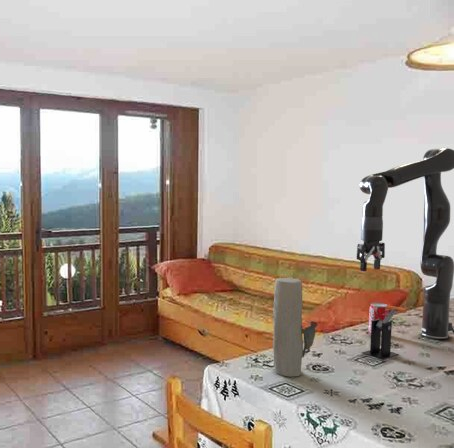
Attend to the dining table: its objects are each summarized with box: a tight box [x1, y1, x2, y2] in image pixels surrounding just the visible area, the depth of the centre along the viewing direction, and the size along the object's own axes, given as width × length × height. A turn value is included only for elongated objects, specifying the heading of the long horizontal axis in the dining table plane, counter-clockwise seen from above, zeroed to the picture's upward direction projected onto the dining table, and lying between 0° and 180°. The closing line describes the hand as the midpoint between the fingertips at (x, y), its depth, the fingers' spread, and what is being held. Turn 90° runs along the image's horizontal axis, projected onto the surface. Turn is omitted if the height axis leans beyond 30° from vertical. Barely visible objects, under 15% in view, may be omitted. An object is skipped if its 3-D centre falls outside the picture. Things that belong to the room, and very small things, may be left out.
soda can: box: [367, 302, 390, 335], centre depth 200 cm, size 7×7×13 cm
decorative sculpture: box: [272, 277, 318, 378], centre depth 158 cm, size 14×10×30 cm
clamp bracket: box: [361, 319, 400, 361], centre depth 175 cm, size 10×8×13 cm
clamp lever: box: [376, 304, 407, 331], centre depth 177 cm, size 12×7×2 cm
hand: (370, 270), depth 191 cm, fingers open, 8 cm apart
